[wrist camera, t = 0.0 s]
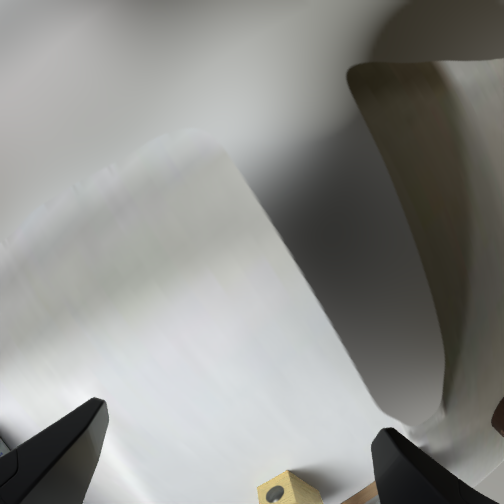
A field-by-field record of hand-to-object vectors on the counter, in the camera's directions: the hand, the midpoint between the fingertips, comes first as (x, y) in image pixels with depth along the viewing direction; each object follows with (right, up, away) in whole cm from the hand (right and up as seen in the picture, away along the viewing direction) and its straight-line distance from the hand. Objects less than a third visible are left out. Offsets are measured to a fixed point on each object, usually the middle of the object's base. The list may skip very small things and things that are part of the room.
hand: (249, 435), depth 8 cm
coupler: (+4, -20, +17) cm, 27 cm away
